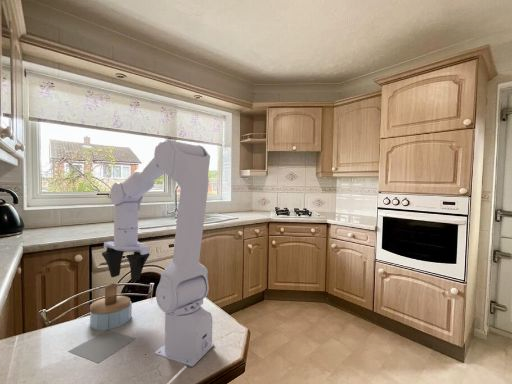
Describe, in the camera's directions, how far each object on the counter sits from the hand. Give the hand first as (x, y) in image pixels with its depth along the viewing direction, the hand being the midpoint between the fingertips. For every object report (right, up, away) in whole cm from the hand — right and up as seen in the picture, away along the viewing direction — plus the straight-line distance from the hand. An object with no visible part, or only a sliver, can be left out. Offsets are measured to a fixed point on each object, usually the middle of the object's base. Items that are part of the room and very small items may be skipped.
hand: (125, 278), depth 69 cm
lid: (-2, -6, -4) cm, 7 cm away
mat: (+3, -10, -14) cm, 17 cm away
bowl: (-2, -10, -4) cm, 11 cm away
